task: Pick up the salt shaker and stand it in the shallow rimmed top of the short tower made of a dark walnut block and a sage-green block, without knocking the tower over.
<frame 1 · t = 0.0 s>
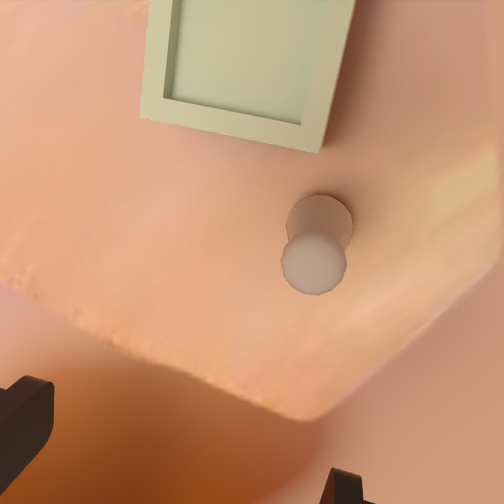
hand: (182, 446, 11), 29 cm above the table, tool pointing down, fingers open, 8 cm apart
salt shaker: (320, 220, 39), on the table
top block: (258, 45, 31), point 4 cm above the table
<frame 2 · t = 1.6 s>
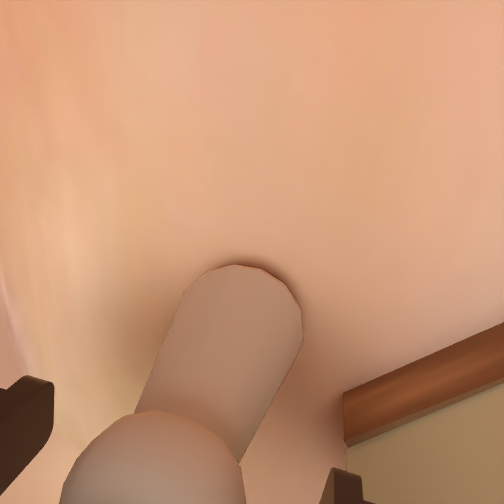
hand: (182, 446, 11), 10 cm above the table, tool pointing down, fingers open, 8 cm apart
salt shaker: (250, 303, 21), on the table
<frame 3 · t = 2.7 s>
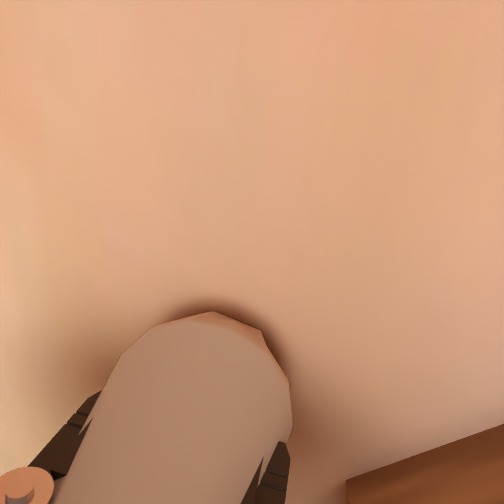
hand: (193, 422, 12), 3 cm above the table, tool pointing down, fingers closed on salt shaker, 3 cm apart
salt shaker: (221, 359, 15), on the table, touching gripper
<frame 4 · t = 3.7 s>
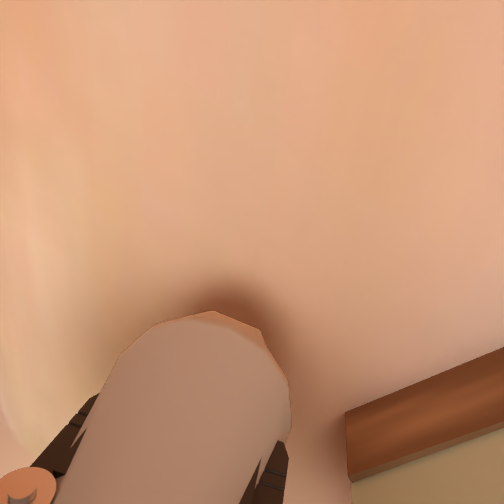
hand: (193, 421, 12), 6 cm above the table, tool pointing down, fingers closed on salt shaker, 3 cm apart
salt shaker: (221, 359, 15), point 3 cm above the table, touching gripper
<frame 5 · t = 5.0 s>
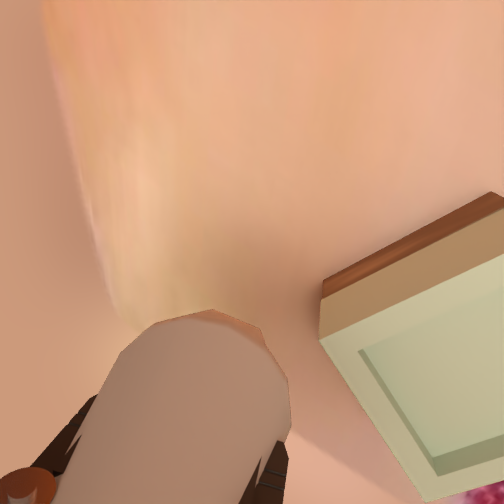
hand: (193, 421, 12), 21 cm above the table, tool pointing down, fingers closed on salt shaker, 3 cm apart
base block: (442, 307, 31), on the table, touching top block
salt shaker: (220, 358, 15), point 17 cm above the table, touching gripper
top block: (454, 334, 28), point 4 cm above the table, touching base block
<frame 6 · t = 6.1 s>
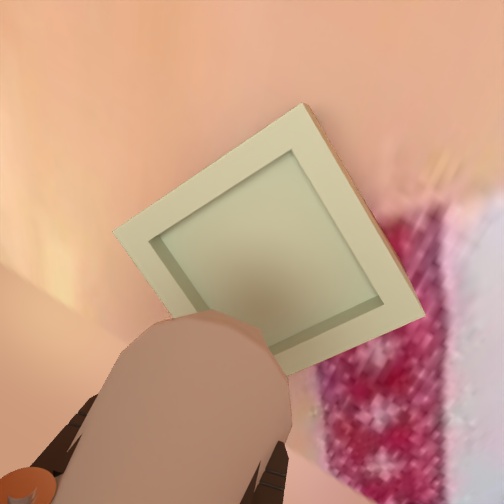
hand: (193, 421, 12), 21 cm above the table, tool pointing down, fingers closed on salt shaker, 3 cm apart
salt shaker: (221, 358, 15), point 18 cm above the table, touching gripper
top block: (275, 243, 28), point 3 cm above the table
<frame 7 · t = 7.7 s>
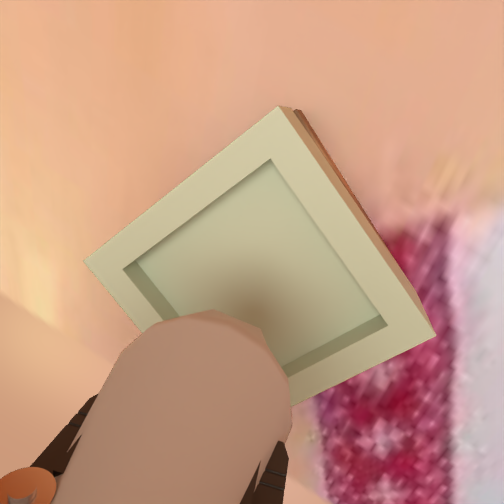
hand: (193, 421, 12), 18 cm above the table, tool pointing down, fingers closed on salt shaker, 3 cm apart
base block: (274, 242, 30), on the table, touching top block
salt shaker: (221, 358, 15), point 15 cm above the table, touching gripper
top block: (266, 260, 26), point 4 cm above the table, touching base block
when the fingers open (11 cm above the table, at t = 11.2 s): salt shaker stays where it is, resting on top block.
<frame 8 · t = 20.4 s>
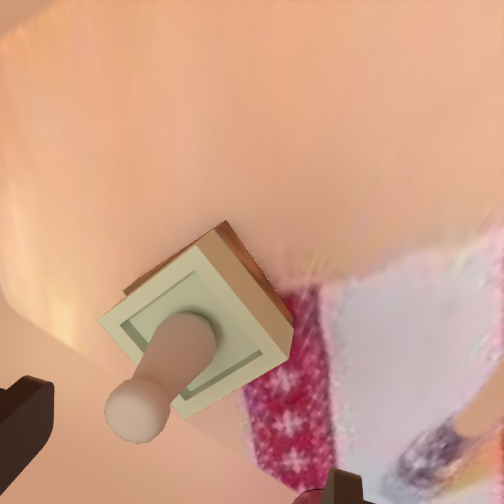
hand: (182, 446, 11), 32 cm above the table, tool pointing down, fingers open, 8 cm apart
base block: (215, 296, 47), on the table, touching top block
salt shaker: (194, 330, 39), point 7 cm above the table, touching top block
top block: (206, 312, 43), point 3 cm above the table, touching base block, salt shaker
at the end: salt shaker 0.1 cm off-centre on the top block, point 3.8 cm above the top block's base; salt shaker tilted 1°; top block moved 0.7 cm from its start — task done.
